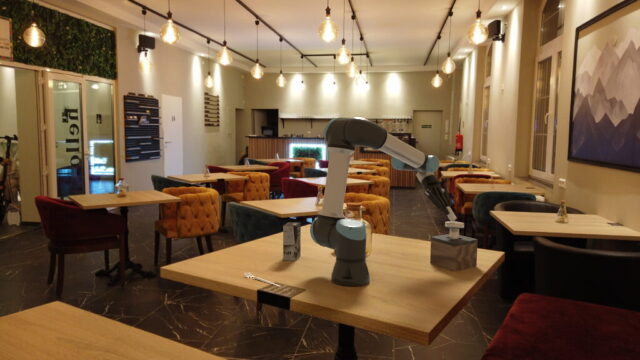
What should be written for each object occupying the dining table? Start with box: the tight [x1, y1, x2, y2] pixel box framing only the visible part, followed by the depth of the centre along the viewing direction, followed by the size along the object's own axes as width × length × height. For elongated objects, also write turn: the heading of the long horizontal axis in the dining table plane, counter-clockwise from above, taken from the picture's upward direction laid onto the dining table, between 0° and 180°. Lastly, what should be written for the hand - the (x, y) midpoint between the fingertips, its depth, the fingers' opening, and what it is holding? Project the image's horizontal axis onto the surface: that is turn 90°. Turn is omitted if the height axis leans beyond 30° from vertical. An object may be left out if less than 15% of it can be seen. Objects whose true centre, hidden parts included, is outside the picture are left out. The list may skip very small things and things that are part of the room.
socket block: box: [429, 233, 479, 272], centre depth 201 cm, size 14×14×12 cm
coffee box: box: [282, 221, 302, 262], centre depth 210 cm, size 9×6×16 cm
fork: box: [243, 271, 282, 288], centre depth 178 cm, size 3×20×2 cm, turn 50°
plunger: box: [444, 220, 465, 240], centre depth 201 cm, size 8×8×13 cm
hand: (453, 220), depth 201 cm, fingers closed
